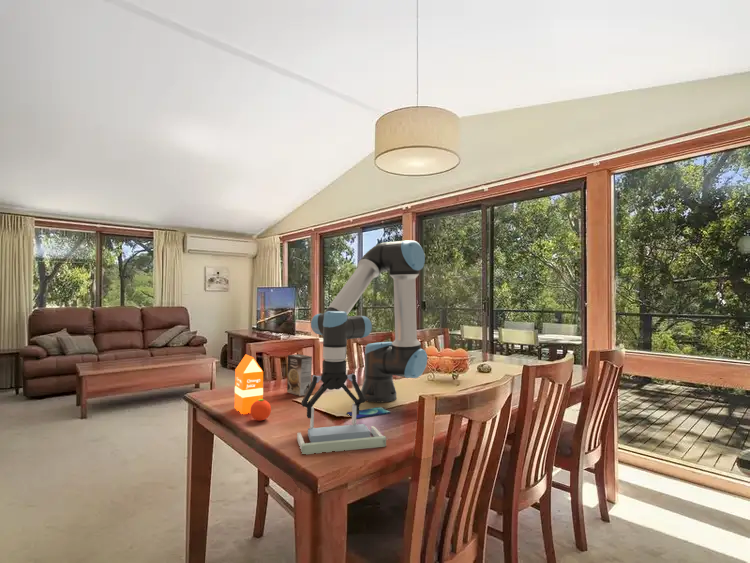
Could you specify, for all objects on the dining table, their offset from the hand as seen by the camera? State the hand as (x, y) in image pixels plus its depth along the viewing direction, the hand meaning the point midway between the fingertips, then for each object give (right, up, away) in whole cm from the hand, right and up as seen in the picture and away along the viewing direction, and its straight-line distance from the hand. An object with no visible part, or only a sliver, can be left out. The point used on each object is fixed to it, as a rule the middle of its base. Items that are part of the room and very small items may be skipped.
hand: (333, 426), depth 132 cm
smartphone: (+11, -3, +19) cm, 22 cm away
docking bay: (+3, -1, -10) cm, 11 cm away
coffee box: (-20, -2, +48) cm, 52 cm away
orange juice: (-34, -2, +22) cm, 40 cm away
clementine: (-26, -1, +10) cm, 28 cm away
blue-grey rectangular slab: (+2, -2, -5) cm, 5 cm away
